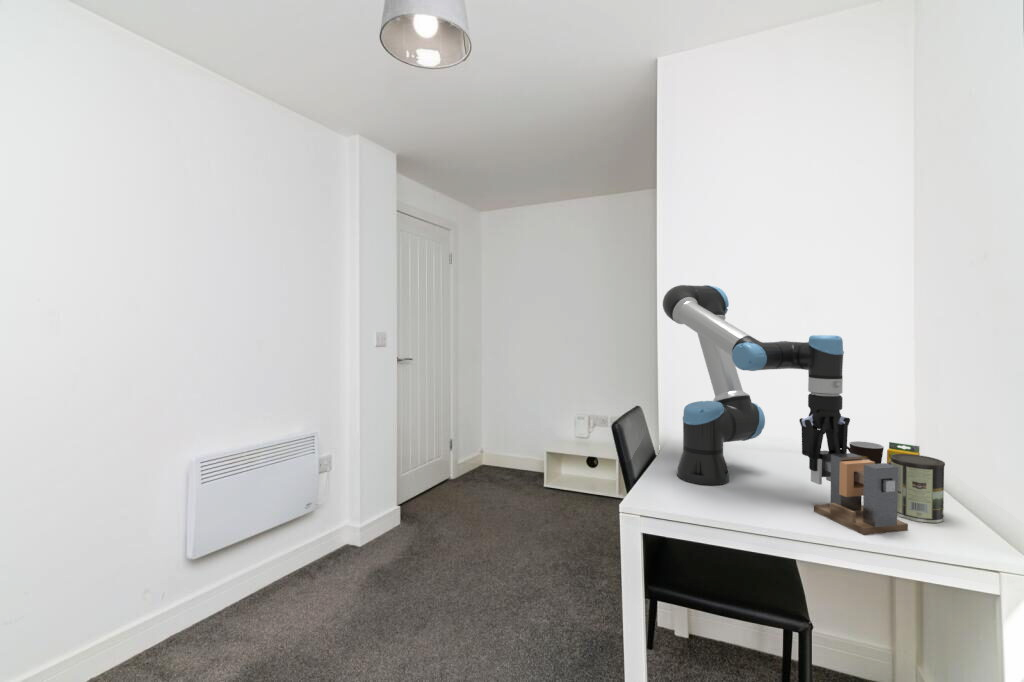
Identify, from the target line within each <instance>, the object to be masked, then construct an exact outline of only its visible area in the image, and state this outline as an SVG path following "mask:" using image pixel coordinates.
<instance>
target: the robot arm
mask: <svg viewBox="0 0 1024 682" xmlns="http://www.w3.org/2000/svg"><path fill="white" fill-rule="evenodd" d="M729 303H730V302H729V299H728V296H727V294H726V292H725V291H724V290H722V289H721V288H720V287H718V286H711V285H708V284H707V285H706V284H704V285H690V284H687V285H685V284H680V285H676V286H674V287H671V288H670V289H669V290H668V291H666V293H665V295H664V297H663V300H662V307H663V308H662V309H663V312H664V314H666V316H667V317H668V318H669V319H671V320H672V321H673V322H675V323H676V324H678V325H685V326H686V327H688V328H689V329H691V330H692V331H694V332H695V333H696V334H697V337H698V339H699V345H700V348H701V350H702V354H703V359H704V361H705V364H706V365H705V366H706V369H707V373H708V375H709V380H710V383H711V386H712V390H713V393H714V399H713V400H701V401H694V402H693V401H692V402H691V403H688V404H687V405H685V406H684V408H683V414H682V415H683V416H682V422H683V423H682V427H683V428H682V429H683V431H682V433H683V434H682V435H683V436H682V437H683V439H682V440H683V441H682V444H683V446H682V454H681V457H680V459H679V462H678V465H677V467H676V468H677V469H676V471H677V475H676V476H677V477H678V478H679V479H681V480H683V481H686V482H687V483H692V484H697V485H704V486H718V485H719V486H720V485H724V484H727V483H729V481H730V471H729V469H728V466H727V462H726V460H725V456H724V443H728V442H729V443H730V442H742V441H743V442H744V441H745V442H746V441H748V440H749V441H750V440H753V439H756V438H758V436H760V435H761V434H762V432H763V430H764V428H765V425H766V416H765V414H764V411H763V409H762V407H760V406H759V405H758V404H757V403H754V402H752V399H751V396H750V394H748V393H746V392H745V391H743V390H744V389H743V387H742V383H741V380H740V377H739V374H738V371H737V368H738V370H741V371H749V372H756V371H766V370H768V371H769V370H787V369H790V370H791V369H794V370H805V371H808V372H807V374H808V377H807V378H808V381H807V383H808V386H807V388H808V389H807V391H808V392H809V394H808V395H807V399H808V400H807V406H808V408H809V410H810V411H809V413H808V416H807V417H804V418H802V417H800V418H799V419H798V420H799V424H800V426H801V454H802V455H803V456H805V457H808V459H809V465H808V469H809V470H810V482H812V483H815V484H817V485H822V483H823V481H822V480H823V479H822V478H823V477H822V459H819V456H820V451H822V450H821V449H822V445H823V439H824V435H825V436H826V444H827V448H828V451H829V452H833V453H836V454H846V453H848V452H847V451H848V449H847V447H848V434H849V433H848V430H849V428H848V427H849V425H850V422H851V419H850V418H849V417H845V416H842V414H841V412H840V411H842V410H843V396H842V394H843V365H844V354H845V351H844V345H843V344H844V342H843V341H844V340H843V338H842V337H841V335H836V334H835V335H832V334H831V335H829V334H828V335H825V334H824V335H823V334H820V335H819V334H818V335H816V334H815V335H814V334H813V335H810V336H809V337H808V341H806V342H802V341H801V342H800V341H789V340H783V341H782V340H781V341H780V340H779V341H774V342H772V341H769V342H765V341H760V340H759V339H756V338H755V337H753V336H752V335H750V334H748V333H746V332H744V331H743V330H741V329H739V328H738V327H736V326H734V324H732V323H729V322H728V321H726V315H727V313H728V310H729V309H728V307H729ZM825 479H826V481H827V482H828V481H829V482H830V483H831V477H825Z"/></svg>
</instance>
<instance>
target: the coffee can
mask: <svg viewBox="0 0 1024 682" xmlns="http://www.w3.org/2000/svg"><path fill="white" fill-rule="evenodd" d="M891 465H893V466H897V467H898V500H897V517H901V518H903V519H906V520H910V521H915V522H918V523H919V522H920V523H929V524H939V523H942V522H944V521H945V519H944V510H945V508H944V506H945V505H944V503H945V502H944V501H945V499H944V496H945V495H944V494H945V491H944V488H945V484H944V483H945V466H946V463H945V461H944V460H941V459H938V458H935V457H930V456H928V455H927V456H926V455H921V454H920V455H913V454H893V455H891Z"/></svg>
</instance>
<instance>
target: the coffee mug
mask: <svg viewBox="0 0 1024 682" xmlns="http://www.w3.org/2000/svg"><path fill="white" fill-rule="evenodd" d="M848 443H849V446H847V451H848V453H853V454H856V455H859V456H862V460H870V461H873V462H875V464H881V463H882V461H883V456H884V455H883V454H884V447H885V446H884V445H882V444H879V443H874V442H869V441H860V440H859V441H856V440H855V441H854V440H853V441H850V442H848Z"/></svg>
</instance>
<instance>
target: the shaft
mask: <svg viewBox="0 0 1024 682" xmlns="http://www.w3.org/2000/svg"><path fill="white" fill-rule="evenodd" d="M831 454H836V453H833V452H829V450H821V451H820V456H819V459H822V478H826V477H831ZM854 481H857V482H859V483H862V484H864V471H858V472H854ZM881 490H882V491H885V492H892V491H895V481H894V480H891V479H881Z"/></svg>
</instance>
